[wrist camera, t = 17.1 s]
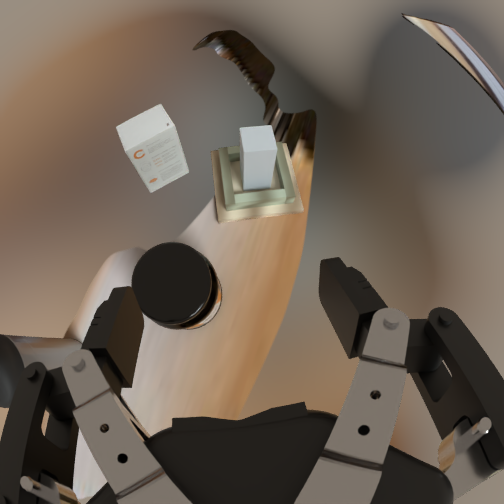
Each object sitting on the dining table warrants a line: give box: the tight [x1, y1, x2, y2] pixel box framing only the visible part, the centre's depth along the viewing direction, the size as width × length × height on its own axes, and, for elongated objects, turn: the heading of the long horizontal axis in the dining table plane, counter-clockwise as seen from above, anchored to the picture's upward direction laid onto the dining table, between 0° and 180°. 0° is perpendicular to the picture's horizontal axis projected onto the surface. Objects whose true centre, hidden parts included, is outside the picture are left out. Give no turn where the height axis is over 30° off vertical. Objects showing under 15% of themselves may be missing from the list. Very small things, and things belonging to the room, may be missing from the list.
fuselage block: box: [240, 125, 277, 191], centre depth 41 cm, size 4×4×11 cm
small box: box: [116, 104, 189, 193], centre depth 41 cm, size 8×6×13 cm
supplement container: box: [132, 242, 222, 330], centre depth 36 cm, size 10×10×12 cm
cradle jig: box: [211, 142, 304, 223], centre depth 46 cm, size 14×14×4 cm
